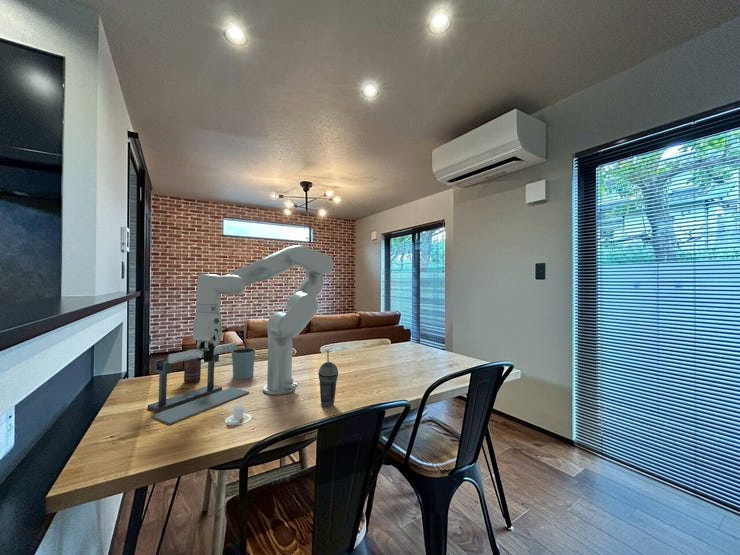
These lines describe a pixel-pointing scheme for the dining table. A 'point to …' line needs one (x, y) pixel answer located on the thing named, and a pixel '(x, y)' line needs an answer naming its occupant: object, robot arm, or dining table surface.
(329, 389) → the beverage cup
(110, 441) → the dining table surface
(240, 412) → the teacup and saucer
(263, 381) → the dining table surface
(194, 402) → the rubber mat
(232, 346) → the steel rail
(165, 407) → the hook stands
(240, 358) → the teal tapered cup
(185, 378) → the can
